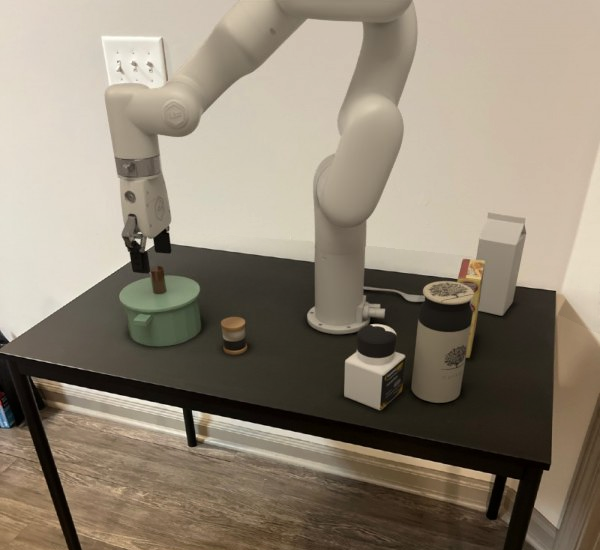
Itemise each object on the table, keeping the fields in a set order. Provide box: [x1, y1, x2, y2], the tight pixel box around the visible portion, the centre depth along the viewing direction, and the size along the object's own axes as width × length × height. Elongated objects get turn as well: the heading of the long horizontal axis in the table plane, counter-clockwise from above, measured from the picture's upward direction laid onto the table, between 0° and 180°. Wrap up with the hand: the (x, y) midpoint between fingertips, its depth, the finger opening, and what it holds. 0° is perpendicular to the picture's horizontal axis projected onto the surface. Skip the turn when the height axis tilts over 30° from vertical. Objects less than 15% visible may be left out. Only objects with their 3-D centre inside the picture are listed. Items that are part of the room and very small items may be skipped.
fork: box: [363, 285, 425, 303], centre depth 131 cm, size 3×24×2 cm, turn 63°
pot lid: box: [118, 265, 201, 312], centre depth 115 cm, size 15×15×6 cm
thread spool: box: [220, 316, 248, 356], centre depth 112 cm, size 4×4×6 cm
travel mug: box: [410, 280, 474, 404], centre depth 95 cm, size 8×8×18 cm
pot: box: [123, 297, 202, 347], centre depth 118 cm, size 14×19×8 cm
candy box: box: [456, 258, 485, 359], centre depth 108 cm, size 9×4×15 cm, turn 163°
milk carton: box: [475, 212, 527, 317], centre depth 121 cm, size 7×7×19 cm
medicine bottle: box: [343, 323, 406, 411], centre depth 97 cm, size 7×7×12 cm
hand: (152, 262), depth 112 cm, fingers open, 9 cm apart
